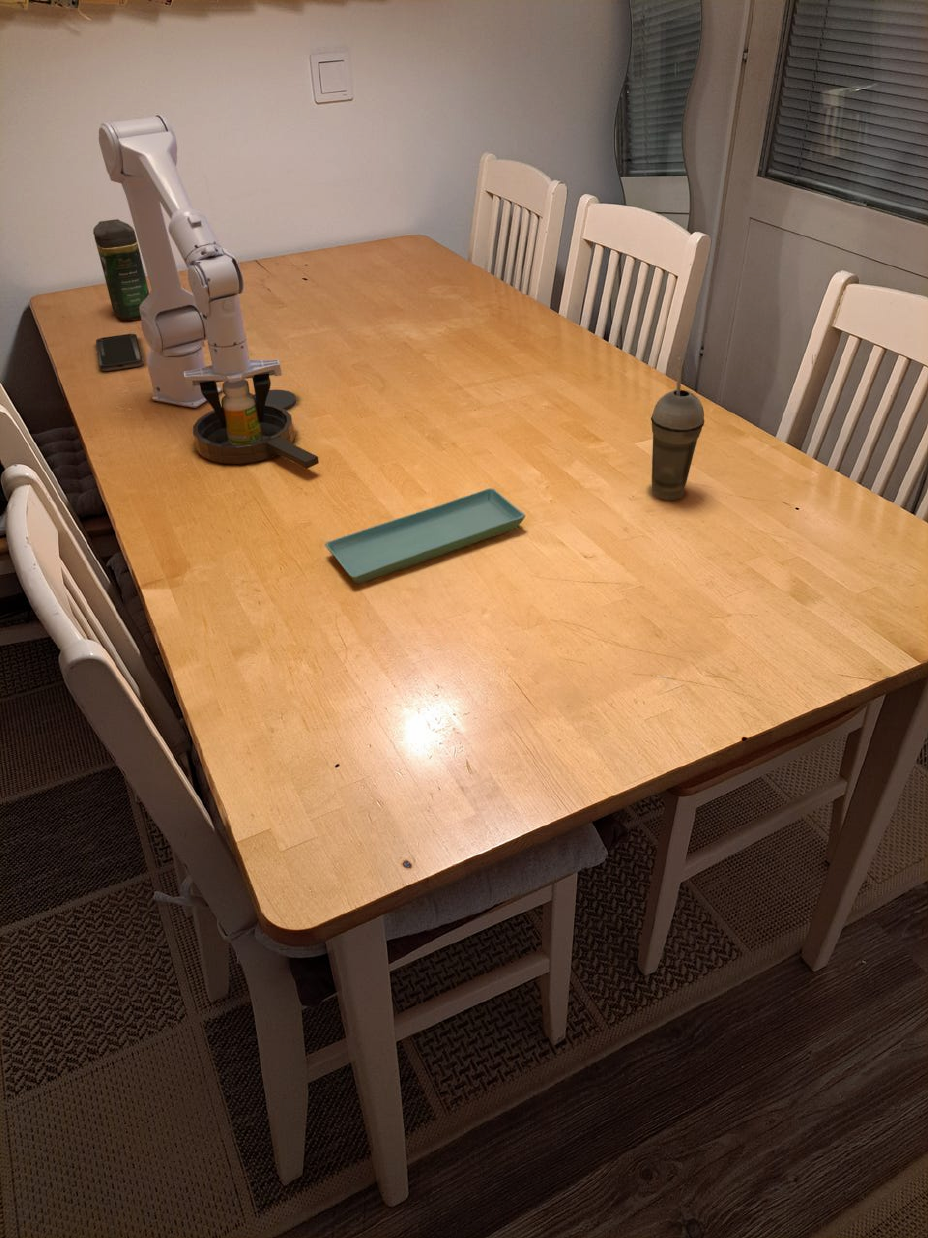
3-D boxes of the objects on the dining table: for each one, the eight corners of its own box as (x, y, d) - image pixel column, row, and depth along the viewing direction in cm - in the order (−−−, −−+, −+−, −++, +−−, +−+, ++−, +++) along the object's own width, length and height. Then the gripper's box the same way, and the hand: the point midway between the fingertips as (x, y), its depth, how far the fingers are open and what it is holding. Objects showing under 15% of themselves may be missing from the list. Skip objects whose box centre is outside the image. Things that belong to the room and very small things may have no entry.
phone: (135, 332, 182) (142, 359, 171) (137, 338, 183) (143, 365, 172) (95, 338, 180) (99, 366, 169) (96, 344, 181) (100, 372, 170)
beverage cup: (662, 510, 128) (681, 376, 116) (632, 487, 133) (646, 356, 121) (703, 497, 131) (725, 364, 118) (671, 475, 136) (690, 346, 123)
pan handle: (266, 448, 141) (264, 441, 140) (278, 442, 142) (277, 435, 142) (306, 469, 136) (305, 462, 135) (319, 463, 137) (318, 456, 136)
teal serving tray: (353, 590, 115) (351, 575, 113) (325, 555, 121) (322, 540, 119) (526, 531, 125) (527, 515, 123) (492, 501, 131) (492, 486, 129)
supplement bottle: (255, 449, 144) (244, 391, 138) (223, 446, 145) (211, 389, 139) (267, 433, 148) (258, 377, 142) (236, 431, 149) (225, 375, 143)
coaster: (238, 408, 157) (237, 405, 156) (264, 389, 163) (264, 386, 162) (279, 416, 154) (279, 413, 154) (305, 396, 160) (304, 393, 160)
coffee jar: (158, 317, 192) (136, 225, 181) (120, 324, 189) (96, 231, 178) (147, 303, 199) (126, 213, 187) (110, 310, 196) (86, 219, 185)
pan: (176, 454, 144) (172, 436, 142) (233, 414, 155) (230, 396, 153) (260, 472, 139) (256, 453, 137) (312, 429, 150) (309, 411, 148)
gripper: (178, 356, 132) (197, 440, 140) (278, 343, 135) (291, 426, 143) (176, 338, 137) (194, 420, 146) (272, 326, 140) (284, 407, 149)
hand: (242, 422), depth 145 cm, fingers closed on supplement bottle, 5 cm apart
